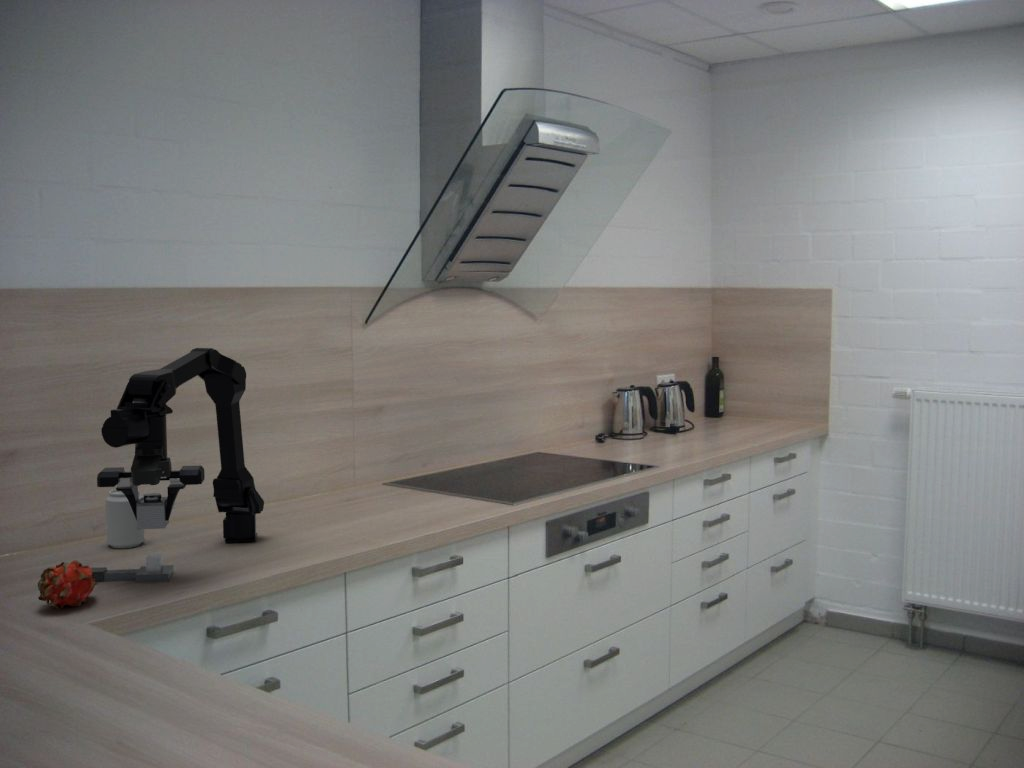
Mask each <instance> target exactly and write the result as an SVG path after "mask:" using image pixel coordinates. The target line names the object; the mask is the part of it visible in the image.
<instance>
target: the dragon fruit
mask: <svg viewBox="0 0 1024 768" xmlns="http://www.w3.org/2000/svg"><path fill="white" fill-rule="evenodd" d="M91 568H92V567H90V566H89V564H88V565H87V564H86V565H82V562H81V561H78V560H73V561H71V562H70V563H68V562H65V561H63V562H61V563H59V564H57V565H56V566H49V567H47V568H46V569H44V570H43V572H42V573H41V575H40V579H39V581H38V582H37V588H38V591H39V596H38V600H39V601H41V602H42V601H43V602H46V606H52V607H54V608H56V609H57V610H61V609H63V608H64V607H65V606H66V605H69V606H71V607H75V606H76V607H80V606H81V605H82V603H87V602H88V599H89V598H90V594H91V593H92V592H93V590H94V588H95V586H96V585H98V582H95V578H94V577H93V575H92V573H93V571H92V569H91Z"/></svg>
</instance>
